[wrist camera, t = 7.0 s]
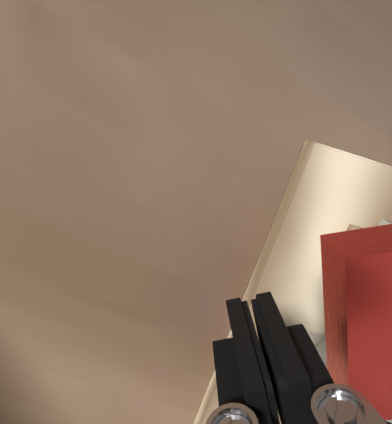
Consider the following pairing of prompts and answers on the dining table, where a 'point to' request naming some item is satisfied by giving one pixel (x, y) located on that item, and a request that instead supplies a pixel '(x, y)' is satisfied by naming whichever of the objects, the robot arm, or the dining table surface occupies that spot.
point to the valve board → (312, 235)
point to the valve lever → (360, 311)
